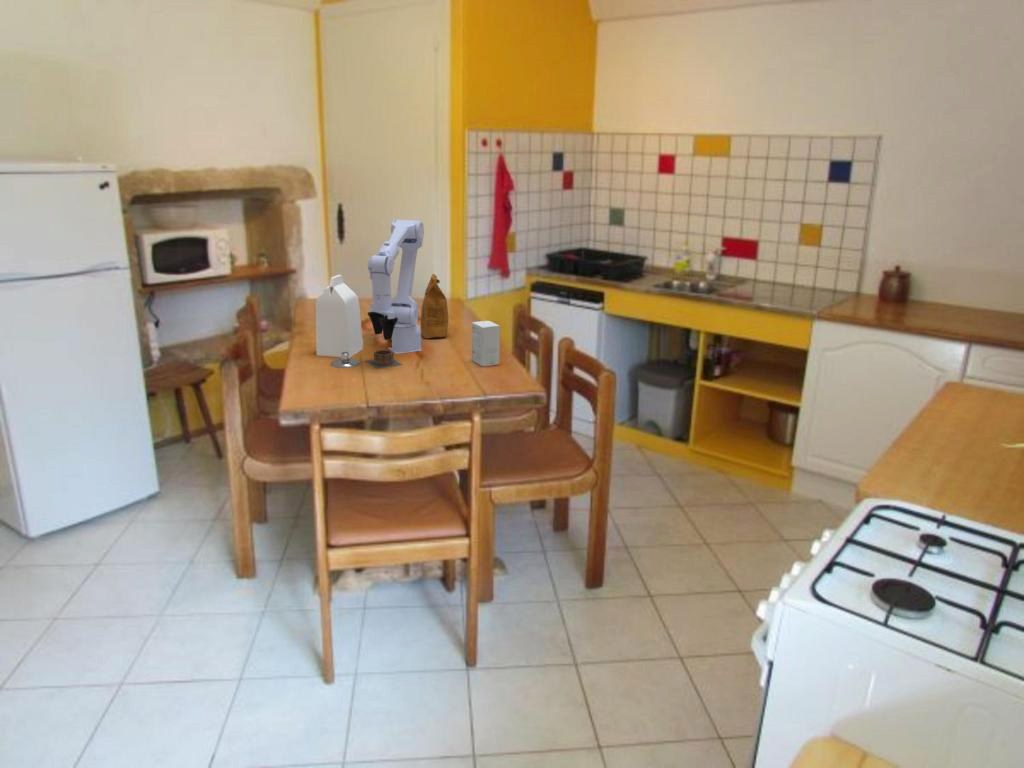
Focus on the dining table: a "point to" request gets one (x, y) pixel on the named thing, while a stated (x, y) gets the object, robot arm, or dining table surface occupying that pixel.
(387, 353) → the ring
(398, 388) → the dining table surface
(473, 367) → the dining table surface
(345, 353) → the hub
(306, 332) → the dining table surface
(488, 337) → the small box
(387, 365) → the mat
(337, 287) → the milk
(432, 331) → the coffee package
